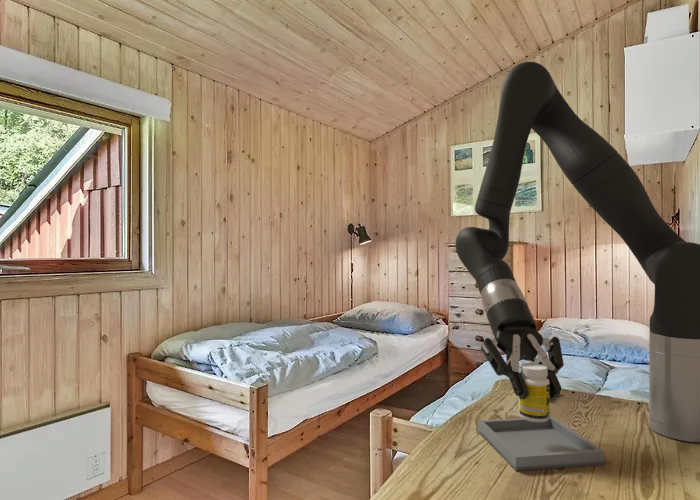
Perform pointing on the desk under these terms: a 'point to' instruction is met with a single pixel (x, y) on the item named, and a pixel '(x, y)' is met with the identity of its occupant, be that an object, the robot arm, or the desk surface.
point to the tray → (539, 444)
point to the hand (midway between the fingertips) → (540, 396)
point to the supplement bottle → (535, 393)
